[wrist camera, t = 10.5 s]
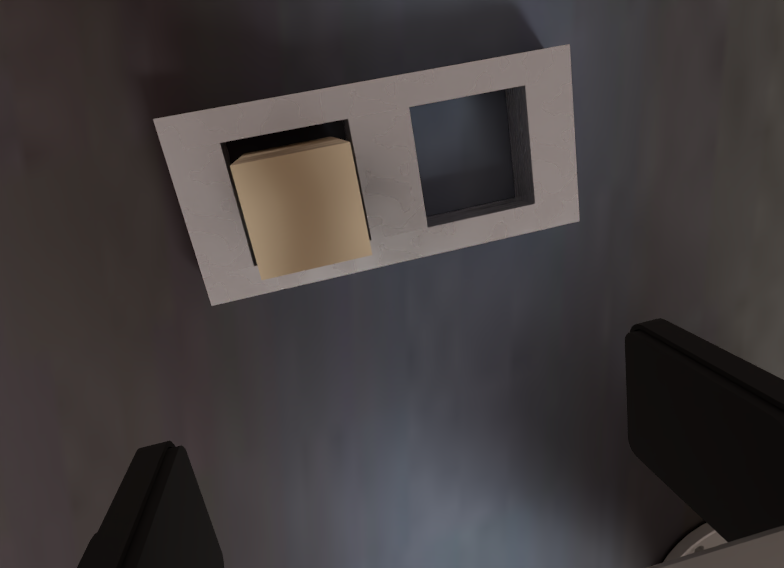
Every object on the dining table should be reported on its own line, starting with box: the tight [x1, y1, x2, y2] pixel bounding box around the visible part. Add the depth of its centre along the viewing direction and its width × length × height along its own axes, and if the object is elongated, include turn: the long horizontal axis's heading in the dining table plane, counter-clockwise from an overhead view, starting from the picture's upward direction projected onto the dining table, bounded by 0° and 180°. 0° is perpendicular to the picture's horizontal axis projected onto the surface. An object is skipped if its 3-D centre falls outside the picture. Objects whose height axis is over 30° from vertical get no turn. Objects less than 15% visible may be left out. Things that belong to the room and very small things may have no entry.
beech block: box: [230, 136, 372, 280], centre depth 24 cm, size 4×4×8 cm
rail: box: [153, 44, 580, 306], centre depth 27 cm, size 20×9×2 cm, turn 100°
